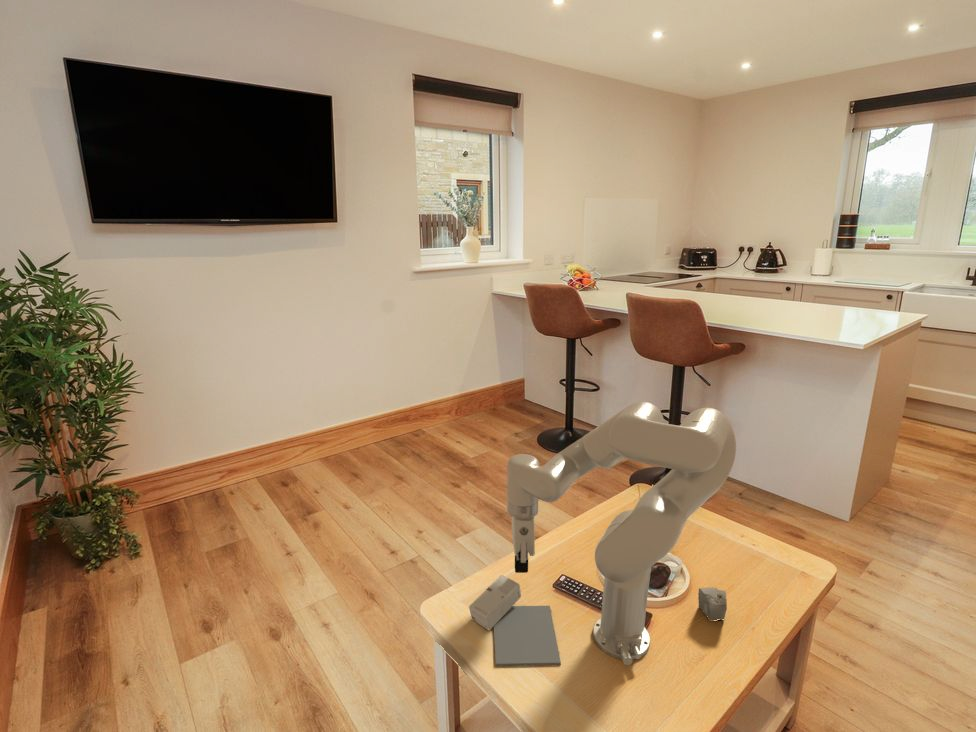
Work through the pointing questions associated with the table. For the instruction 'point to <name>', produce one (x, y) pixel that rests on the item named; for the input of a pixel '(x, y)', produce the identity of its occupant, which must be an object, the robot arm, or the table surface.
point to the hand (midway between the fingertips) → (521, 570)
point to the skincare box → (495, 601)
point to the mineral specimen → (713, 602)
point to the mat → (526, 637)
